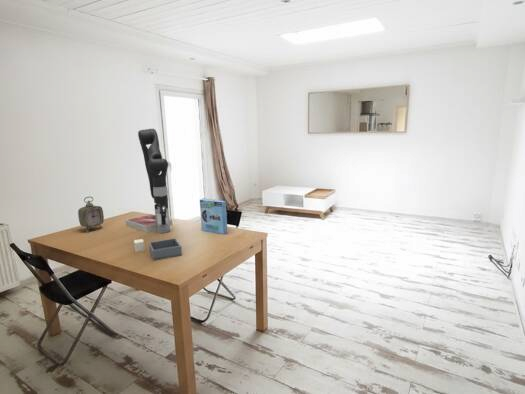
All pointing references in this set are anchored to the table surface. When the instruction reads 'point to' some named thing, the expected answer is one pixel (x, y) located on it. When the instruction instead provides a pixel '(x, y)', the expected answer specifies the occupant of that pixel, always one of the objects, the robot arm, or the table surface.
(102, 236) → the table surface
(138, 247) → the cream box
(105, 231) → the table surface
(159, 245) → the tote
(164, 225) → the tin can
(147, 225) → the product packaging
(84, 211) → the tabletop clock
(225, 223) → the gum box
